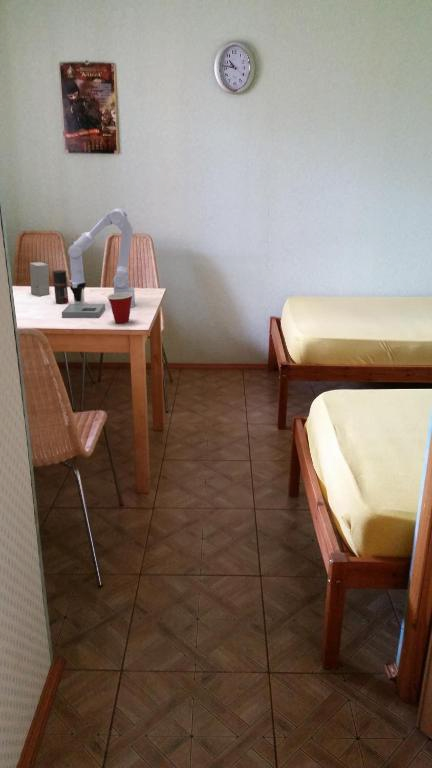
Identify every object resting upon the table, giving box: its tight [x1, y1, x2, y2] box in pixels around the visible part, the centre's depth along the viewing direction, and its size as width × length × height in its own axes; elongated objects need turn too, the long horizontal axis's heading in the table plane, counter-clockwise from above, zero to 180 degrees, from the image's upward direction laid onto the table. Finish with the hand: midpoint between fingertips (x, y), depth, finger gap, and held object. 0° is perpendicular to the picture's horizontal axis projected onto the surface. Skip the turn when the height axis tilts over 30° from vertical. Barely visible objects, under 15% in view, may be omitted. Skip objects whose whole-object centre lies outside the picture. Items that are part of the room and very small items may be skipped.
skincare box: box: [29, 261, 51, 297], centre depth 312 cm, size 8×7×16 cm
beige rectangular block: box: [73, 288, 86, 304], centre depth 290 cm, size 4×4×8 cm
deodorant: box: [52, 269, 69, 305], centre depth 295 cm, size 6×6×15 cm
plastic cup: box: [106, 292, 133, 325], centre depth 262 cm, size 11×11×12 cm
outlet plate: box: [61, 303, 106, 319], centre depth 277 cm, size 16×16×2 cm
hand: (79, 300), depth 290 cm, fingers open, 5 cm apart
